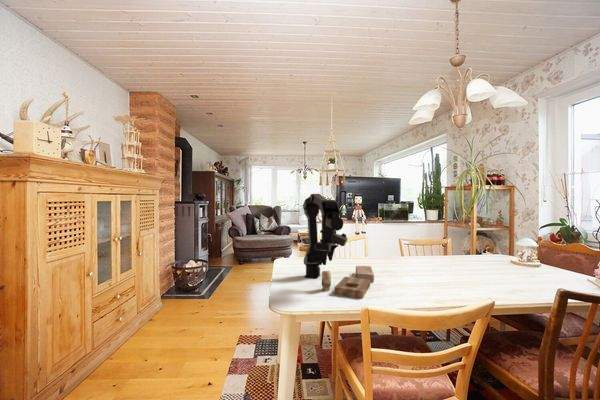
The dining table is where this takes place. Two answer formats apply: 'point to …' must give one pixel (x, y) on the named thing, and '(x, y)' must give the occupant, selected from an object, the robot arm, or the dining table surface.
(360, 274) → the brick
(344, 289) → the seat board
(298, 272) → the dining table surface
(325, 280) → the peg
